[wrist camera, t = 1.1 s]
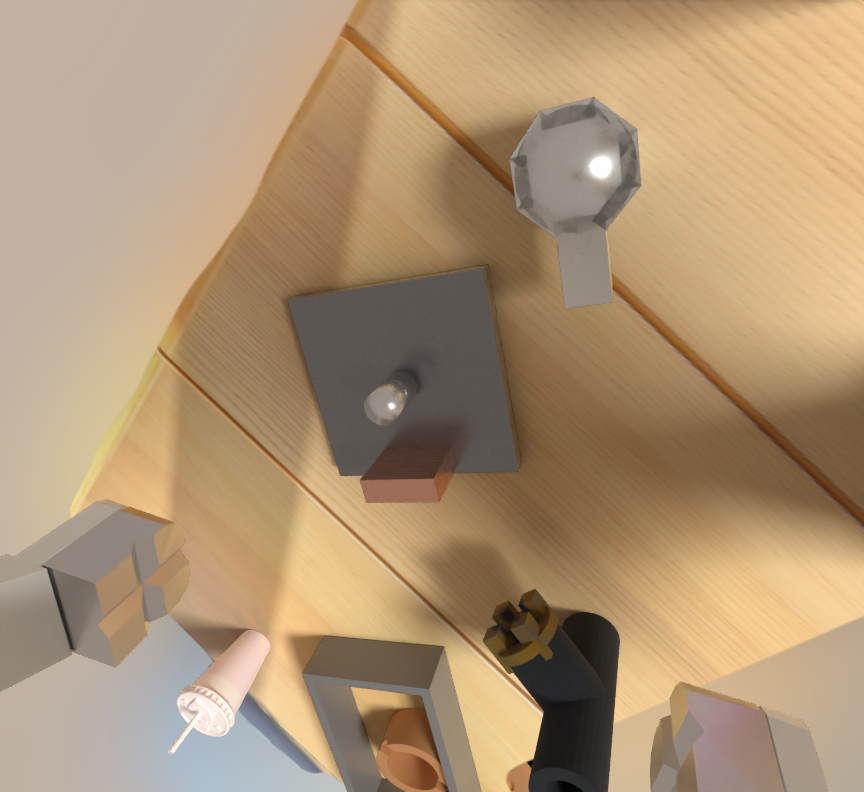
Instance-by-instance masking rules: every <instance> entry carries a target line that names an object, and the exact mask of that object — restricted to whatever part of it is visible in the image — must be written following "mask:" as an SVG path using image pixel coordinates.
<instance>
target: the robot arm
mask: <svg viewBox="0 0 864 792" xmlns="http://www.w3.org/2000/svg"><path fill="white" fill-rule="evenodd" d="M185 542H186V538H185V533H184V528H183V526H181V525H179V524H177V523H175V522H172V521H169V520H166V519H163V518H160V517H157V516H155V515H152V514H149V513H146V512H143V511H140V510H137V509H135V508H132V507H128V506H125V505H122V504H119V503H116V502H113V501H110V500H102V501H98V502H95V503H93V504H92V505H90V506H89V507H87V508H86V509H84V510H83V511H81V512H80V513H78V514H77V515H75V516H74V517H72V518H71V519H69V520H68V521H67V522H65V523H63V524H62V525H60V526H59V527H57V528H56V529H54V530H53V531H51V532H50V533H49V534H47V535H46V536H44V537H42V538H41V539H40V540H38V541H37V542H35V543H34V544H32V545H31V546H29V547H28V548H26V549H25V550H23V551H22V552H20V553H19V554H17V555H16V556H11V555H8V554H6V555H2V556H0V692H1V691H3V690H5V689H7V688H9V687H11V686H13V685H14V684H17V683H18V682H20V681H22V680H24V679H26V678H28V677H30V676H32V675H34V674H36V673H38V672H40V671H42V670H44V669H46V668H48V667H50V666H51V665H53V664H55V663H57V662H59V661H61V660H63V659H65V658H67V657H69V656H70V655H72V652H74V653H77V654H80V655H82V656H85V657H88V658H91V659H93V660H96V661H99V662H102V663H104V664H107V665H110V666H113V667H117V666H118V665H119V664H120V663H121V662H122V661H123V660H124V659H125V658H126V656H128V655H129V653H131V651H132V650H133V649H134V648H135V647H136V646H137V645H138V644H139V643H140V642H141V641H142V640H143V639H144V638H145V637H146V636H147V634H148V629H149V623H150V622H151V621H153V620H156V619H158V618H160V617H163V616H165V615H167V614H168V613H169V612H170V611H171V610H172V609H173V608H174V607H175V606H176V605H177V604H178V603H179V601H180V599H181V598H182V596H183V594H184V592H185V590H186V588H187V586H188V582H189V577H190V566H189V561H188V559H187V558H186V556H185V555H184V554H183V552H182V551H181V549H180V548H181V547H182V546H183V545H184V544H185ZM670 707H671V715H669V716H666V717H664V718H662V719H661V720H660V722H659V725H658V727H657V730H656V733H655V736H654V741H653V747H652V752H651V765H650V782H651V792H830V790H829V787H828V784H827V781H826V778H825V775H824V772H823V769H822V766H821V763H820V760H819V757H818V754H817V751H816V748H815V745H814V742H813V739H812V736H811V732H810V729H809V727H808V726H807V725H806V723H805V722H804V721H803V720H802V719H800V718H796V717H793V716H790V715H787V714H784V713H780V712H777V711H774V710H771V709H768V708H764V707H761V706H757V705H756V704H753V703H750V702H746V701H743V700H740V699H736V698H733V697H730V696H726V695H723V694H720V693H717V692H713V691H710V690H707V689H703V688H700V687H697V686H694V685H690V684H687V683H684V682H679V683H678V684H677V685H676V686H675V688H674V690H673V692H672V694H671V697H670Z"/></svg>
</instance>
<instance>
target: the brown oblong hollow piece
mask: <svg viewBox="0 0 864 792" xmlns="http://www.w3.org/2000/svg"><path fill="white" fill-rule="evenodd" d="M376 759H377V764H378V767H379V769H380V771H381V772H382V774H383V775H384V776H385V777H386V778H387V779H388V780H389V781H390V782H391V783H392V784H394V785H395V786H397V787H398V788H400V789H402V790H403V791H405V792H446V788H447V783H446V779H445V776H444V772H443V769H442V765H441V762H440V758H439V755H438V751H437V748H436V744H435V741H434V737H433V734H432V730H431V727H430V724H429V720H428V717H427V713H426V711H424V710H421V709H414V708H408V709H402V710H399V711H397V712H396V713H395V714H394V715H393V716H392V718H391V720H390V723H389V725H388V728H387V730H386V733H385V735H384V738H383V740H382V743H381V745H380V748H379V751H378V753H377V758H376ZM533 760H534V759H531V760H529V761H527V762H525V763H523V764H520V765H518V766H516V767H514V768H513V769H511V770H510V771H509V772H508V774H507V776H506V780H507V784H508V787H509V789H510V791H511V792H529V779H530V774H531V769H532V765H533Z"/></svg>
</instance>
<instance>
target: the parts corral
mask: <svg viewBox="0 0 864 792" xmlns="http://www.w3.org/2000/svg"><path fill="white" fill-rule="evenodd" d="M302 675H303V678H304V680H305V683H306V685H307V688H308V691H309V693H310V696H311V698H312V701H313V704H314V706H315V709H316V711H317V714H318V717H319V719H320V722H321V725H322V727H323V730H324V732H325V735H326V738H327V740H328V743H329V745H330V748H331V751H332V753H333V756H334V758H335V761H336V764H337V766H338V769H339V771H340V774H341V777H342V779H343V782H344V784H345V787H346V790H347V792H405V791H403V790H402V789H400V788H398V787H397V786H395V785H394V784H392V783H391V782H390V781H389V780H388V779H383V778H382V777H381V774H380V771H379V768H378V765H377V763H376V760H375V757H374V754H373V751H372V748H371V745H370V742H369V740H368V737H367V734H366V731H365V728H364V725H363V722H362V719H361V717H360V714H359V711H358V708H357V705H356V702H355V699H354V696H353V693H352V691H351V688H350V687H357V688H365V689H373V690H380V691H388V692H396V693H403V694H411V695H419V696H422V699H423V703H424V706H425V710H426V713H427V717H428V720H429V724H430V727H431V730H432V734H433V737H434V741H435V744H436V748H437V751H438V755H439V758H440V762H441V765H442V769H443V772H444V776H445V779H446V783H447V786H448V789H449V791H446V792H481V788H480V784H479V780H478V776H477V772H476V768H475V764H474V761H473V757H472V753H471V749H470V745H469V741H468V737H467V733H466V730H465V726H464V722H463V718H462V714H461V710H460V706H459V702H458V699H457V695H456V691H455V687H454V683H453V679H452V675H451V671H450V668H449V664H448V660H447V656H446V652H445V648H444V647H440V646H429V645H418V644H408V643H397V642H387V641H376V640H365V639H355V638H344V637H333V636H324V638H323V640H322V641H321V643H320V644H319V646H318V648H317V649H316V651H315V653H314V654H313V656H312V658H311V659H310V661H309V663H308V664H307V666H306V668H305V669H304V671H303V672H302Z"/></svg>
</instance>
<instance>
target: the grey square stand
mask: <svg viewBox="0 0 864 792" xmlns="http://www.w3.org/2000/svg"><path fill="white" fill-rule="evenodd" d="M287 301H288V304H289V307H290V311H291V314H292V317H293V321H294V324H295V327H296V331H297V334H298V337H299V341H300V344H301V347H302V350H303V354H304V357H305V360H306V364H307V367H308V370H309V374H310V377H311V380H312V384H313V387H314V390H315V394H316V397H317V400H318V404H319V407H320V410H321V414H322V417H323V420H324V423H325V427H326V430H327V433H328V437H329V440H330V443H331V447H332V450H333V453H334V457H335V460H336V463H337V467H338V470H339V473H340V476H361V475H364V476H363V477H362V478H361V479H360V482H361V486H362V489H363V493H364V496H365V500H366V503H384V502H439V501H440V499H441V497H442V495H443V493H444V491H445V489H446V487H447V486H448V484H449V482H450V480H451V478H452V476H453V474H454V473H480V472H518V471H519V467H520V464H521V458H520V452H519V446H518V440H517V434H516V428H515V422H514V416H513V410H512V404H511V398H510V392H509V386H508V381H507V375H506V369H505V363H504V357H503V351H502V345H501V339H500V333H499V327H498V321H497V315H496V309H495V303H494V297H493V291H492V285H491V280H490V274H489V268H488V264H487V265H481V266H475V267H469V268H463V269H457V270H451V271H445V272H439V273H433V274H426V275H420V276H414V277H408V278H402V279H396V280H390V281H384V282H378V283H372V284H365V285H359V286H353V287H347V288H341V289H335V290H329V291H323V292H317V293H311V294H304V295H298V296H295V297H293V298H291V299H289V300H287Z"/></svg>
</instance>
